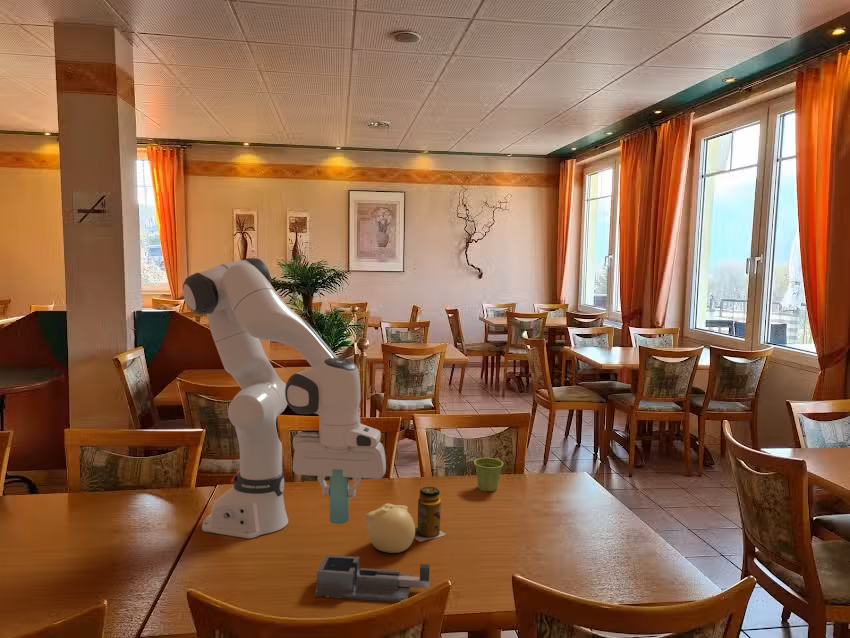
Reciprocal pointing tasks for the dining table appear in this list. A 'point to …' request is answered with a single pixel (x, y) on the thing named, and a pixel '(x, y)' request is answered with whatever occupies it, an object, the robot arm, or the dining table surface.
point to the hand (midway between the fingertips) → (339, 495)
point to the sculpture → (391, 528)
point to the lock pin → (414, 578)
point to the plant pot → (488, 473)
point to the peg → (338, 498)
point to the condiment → (428, 514)
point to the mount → (357, 581)
